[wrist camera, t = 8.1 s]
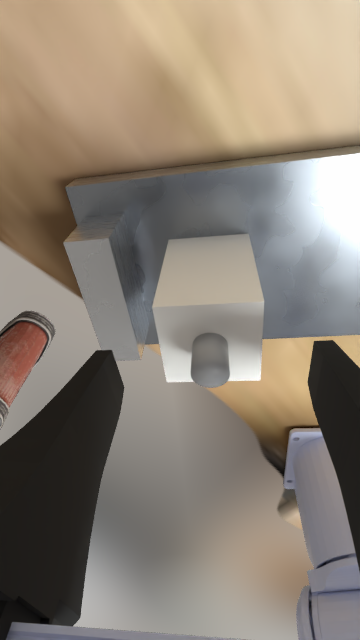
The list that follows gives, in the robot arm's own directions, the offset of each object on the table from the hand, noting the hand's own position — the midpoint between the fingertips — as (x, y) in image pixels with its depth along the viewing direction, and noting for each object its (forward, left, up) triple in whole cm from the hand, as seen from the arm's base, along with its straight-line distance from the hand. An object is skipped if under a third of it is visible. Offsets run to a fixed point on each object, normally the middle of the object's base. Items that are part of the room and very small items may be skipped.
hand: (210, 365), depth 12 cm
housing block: (0, 0, -7) cm, 7 cm away
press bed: (0, -6, -9) cm, 11 cm away
